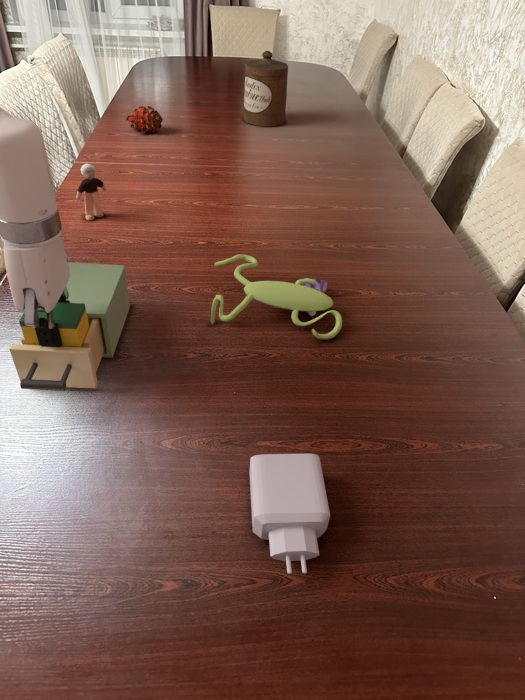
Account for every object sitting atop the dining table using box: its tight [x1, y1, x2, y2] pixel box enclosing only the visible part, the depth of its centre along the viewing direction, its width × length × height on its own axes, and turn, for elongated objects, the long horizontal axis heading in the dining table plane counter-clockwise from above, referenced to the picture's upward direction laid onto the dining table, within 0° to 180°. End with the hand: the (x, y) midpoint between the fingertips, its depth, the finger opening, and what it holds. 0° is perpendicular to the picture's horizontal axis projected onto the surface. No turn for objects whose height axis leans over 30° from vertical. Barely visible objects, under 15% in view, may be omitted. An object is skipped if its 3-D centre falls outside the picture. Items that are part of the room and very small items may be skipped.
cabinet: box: [23, 261, 131, 359], centre depth 90 cm, size 15×13×9 cm
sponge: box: [18, 302, 89, 347], centre depth 77 cm, size 8×5×4 cm, turn 90°
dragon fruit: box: [125, 105, 164, 134], centre depth 169 cm, size 8×8×12 cm
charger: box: [248, 453, 331, 575], centre depth 64 cm, size 5×9×15 cm
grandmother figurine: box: [75, 162, 107, 221], centre depth 121 cm, size 8×4×13 cm, turn 147°
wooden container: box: [243, 50, 289, 127], centre depth 181 cm, size 15×15×22 cm
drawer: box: [9, 317, 106, 392], centre depth 81 cm, size 18×11×7 cm, turn 0°
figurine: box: [210, 253, 343, 341], centre depth 100 cm, size 18×27×6 cm
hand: (57, 332), depth 79 cm, fingers closed on sponge, 5 cm apart
